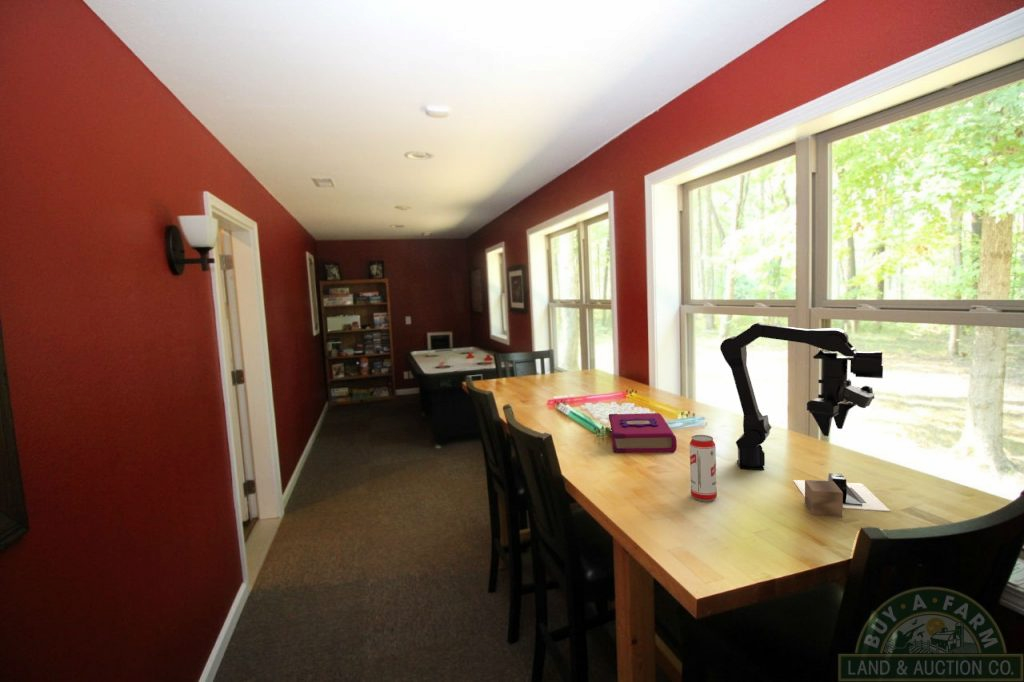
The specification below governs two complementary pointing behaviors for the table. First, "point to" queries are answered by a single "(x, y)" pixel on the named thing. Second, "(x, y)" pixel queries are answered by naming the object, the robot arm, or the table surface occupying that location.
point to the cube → (823, 498)
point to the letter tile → (860, 492)
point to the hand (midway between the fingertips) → (833, 432)
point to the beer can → (703, 468)
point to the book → (641, 434)
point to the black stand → (844, 489)
